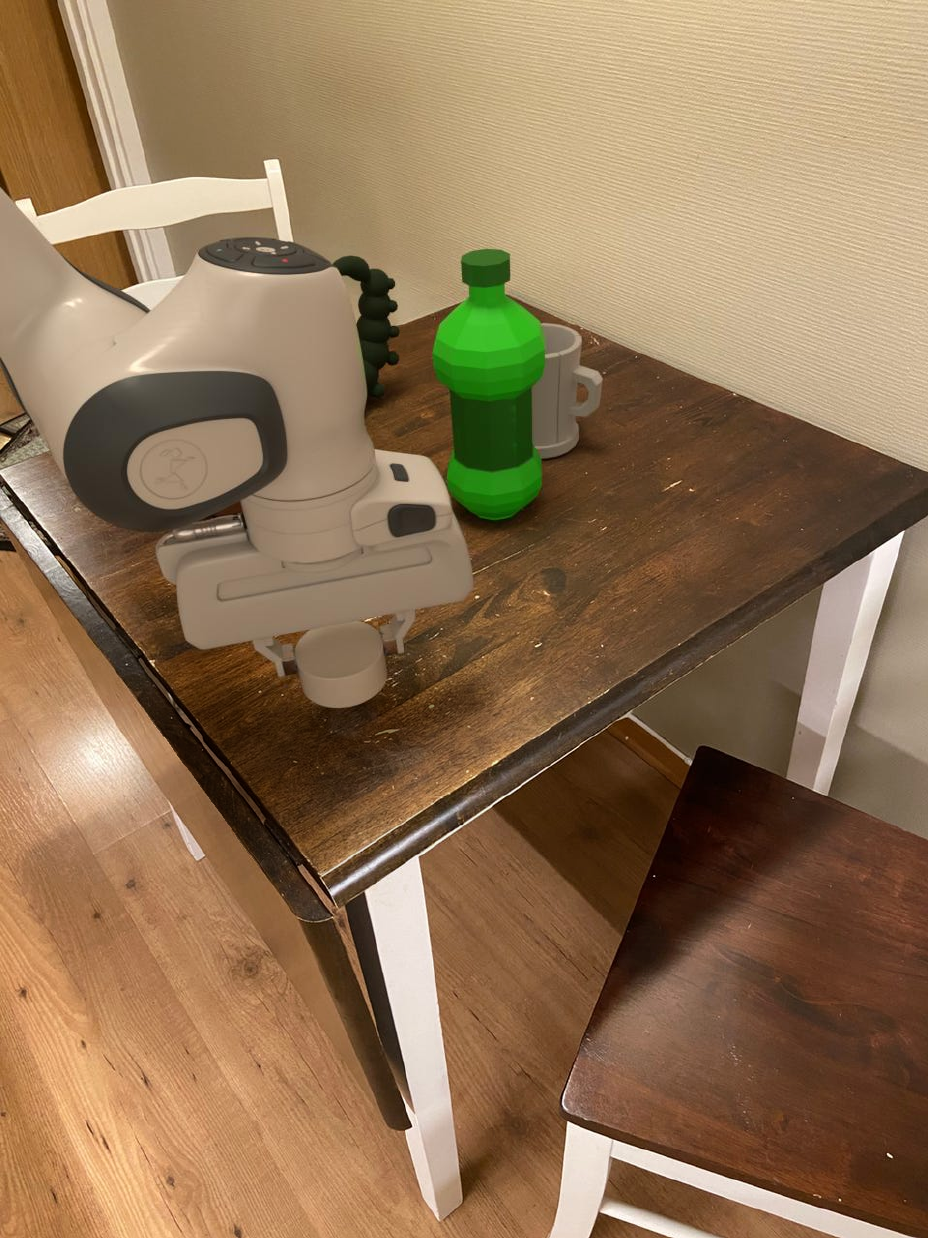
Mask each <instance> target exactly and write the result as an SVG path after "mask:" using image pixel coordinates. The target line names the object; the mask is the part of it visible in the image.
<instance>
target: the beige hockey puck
mask: <svg viewBox="0 0 928 1238" xmlns="http://www.w3.org/2000/svg"><path fill="white" fill-rule="evenodd" d="M294 653H295V660H296V666H297V669H298V674H297V675H298V679H299V680H298V681H299V684H300V689H301V690H302V693H303V694H304V695H305V696H306V698H307V699H308V700H310V701H311V702H313V704H316V705H319V706H322V707H326V708H331V709H343V708H345V709H346V708H351V707H355V706H358V705H361V704H363V703H365V702H367V701H369V700H371V699H373V698H374V697H375V696H376V695H377V694H378V693H380V691H381V690H382V689H383V688H384V686H385V684H386V681H387V678H388V665H387V658H386V657H387V656H385V652H384V645H383V640H382V637H381V633H380V631H378V630H377V629H376V627H374V626H373V625H371V624H369V623H367V622H365V621H362V620H358V621H353V622H348V623H343V624H337V625H332V626H327V627H322V628H316V629H311V630H307V631H306V632H305V633H304V634H303V635H302V636H301V637H300V638H299V640H298V641H297V643H296V645H295V647H294Z"/></svg>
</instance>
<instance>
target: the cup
mask: <svg viewBox="0 0 928 1238" xmlns="http://www.w3.org/2000/svg"><path fill="white" fill-rule="evenodd" d="M540 323H541V322H540ZM541 326H542V328H543V331H544V333H545V366H544V371H543V375H542V377H541V378H540V379H539V380H538V381H537V382H536V383H535V384H534V385H533V386H532V443H533V445H534V446H535V448H536V449H537V451H538V453H539V455H540V457H541V460H545V459H546V460H547V459H551V458H557V457H559V456H563V455H565V454H566V453H568V452H569V451H571V450H572V449H574V448H575V447H576V445H577V444H578V442H579V440H580V429H579V424H578V422H577V421H576V417H580V418H581V417H582V418H587V417H589V416H590V415H591V414H592V413H593V412H595V411H596V410H598V409H599V407H600V405H601V396H602V390H603V389H602V388H603V387H602V386H603V380H604V379H603V376H602V375H601V374H600V372H599V371H598V370H596V369H592V368H589V367H586V366H584V365H581V364H580V361H581V355H582V354H581V352H582V345H583V344H582V343H583V340H582V336H581V334H579V332H578V331H577V330H576V329H573V328H571V327H569V326H566V325H562V324H558V323H549V322H548V323H546V322H542V323H541ZM578 383H579V384H582V385H584V387H585V388H586V391H588V396H587V399H586V400H585V401H584V402H581V401H577V396H578V395H577V393H578Z"/></svg>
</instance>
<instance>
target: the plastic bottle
mask: <svg viewBox="0 0 928 1238" xmlns="http://www.w3.org/2000/svg"><path fill="white" fill-rule="evenodd" d="M460 266H461V267H460V268H461V269H460V270H461V283H463V284H465V285H467V286H468V297H467V298H465V299H464V300H463V301H462V302H461V303H459V305H458V306H456V307H455V308H454V309H453V310H452V311H451V312H450V313H449V314H448V315H447V316H446V317H445V318H444V319H442V321H441V322H440V323H439V325H438V327H437V331H436V335H435V339H434V344H433V348H432V352H431V353H432V364H433V365H432V366H433V369H434V372H435V375H436V378H437V380H438V381H439V382H440V383H441V384H442V385H444V386H445V387H446V388H447V389H448V390H449V400H450V401H449V403H450V414H451V427H452V441H453V450H452V452H451V455H450V457H449V459H448V460H449V461H448V466H447V473H446V483H447V485H446V487H447V490H448V492H449V494H450V495H451V496H452V498H453V499H455V500H456V501H457V502H458V503H459V504H461V505H462V506H463V507H464V508H466V509H467V510H468V511H469V512H470V513H471V514H474V515H476V516H477V517H479V519H487V520H491V521H499V520H504V519H509V518H512V517H513V516H514V515H516V514H517V513H518V512H520V511H521V510H522V509H523V508H525V507H526V506H528V505H529V504H530V503H532V501H534V500H535V499H536V498H537V497H538V495H539V493H540V491H541V489H542V486H543V475H542V474H543V471H542V470H543V469H542V467H543V463H542V461H543V459H541V457H540V455H539V453H538V451H537V449H536V448H535V446H534V445H533V443H532V386H533V385H534V384H535V383H536V382H537V381H538V380H539V379H540V378H541V377H542V375H543V371H544V366H545V333H544V331H543V328H542V326H541V321H540V320H539V319H538V318H537V317H536V316H534V315H533V314H532V313H531V312H529V310H527V309H526V308H525V307H524V306H522V305H521V304H519V303H518V302H517V301H515V300H514V299H512V298H511V297H509V296H508V295H506V285H505V284H506V283H508V282H510V281H511V253H510V252H507V251H505V250H503V249H496V248H483V249H475V250H471V251H468V252H466V253H464V254H462V255H461V259H460Z"/></svg>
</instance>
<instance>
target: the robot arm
mask: <svg viewBox="0 0 928 1238" xmlns="http://www.w3.org/2000/svg"><path fill="white" fill-rule="evenodd" d="M332 264H333V263H332V262H331V261H330V260H328V259H327V258H326V257H324V256H322V255H321V254H320V253H318V252H316V251H314V250H313V249H310V248H309V247H306V246H304V245H302V244H301V243H300V244H299V243H297V242H294V241H290V240H288V241H287V240H282V239H277V238H273V237H261V236H239V237H231V238H224V239H219V240H218V241H215V242H212V243H209V244H206V245H204V246H202V247H201V248H200V249H198V250H197V252H196V254H195V256H194V258H193V260H192V263H191V265H190V267H189V269H188V270H187V271H186V272H185V274H184V275H183V277H182V278H181V279H180V280H179V281H178V282H177V283H176V285H174V287H173V288H172V289H171V290H170V292H168V294H167V295H166V296H165V297H164V298H163V299H162V300H160V301H159V302H158V303H157V304H156V305H155V306H154V307H153V308H152V309H150V308H148V307H147V306H146V305H145V304H144V303H142V301H140V300H138V299H136V298H135V297H134V296H132V295H130V294H128V293H127V292H125V291H123V290H122V289H119V288H117V287H115V286H113V285H110V284H109V283H106V282H104V281H102V280H100V279H99V278H96V277H94V276H92V275H91V274H88V273H86V272H84V271H82V270H80V269H79V268H78V267H76V266H75V265H74V264H73V263H71V262H70V261H69V260H68V259H67V258H66V257H65V256H64V255H63V254H61V253H60V251H58V249H56V247H55V246H54V245H53V244H52V243H51V242H50V241H49V239H47V238H46V237H45V235H44V234H43V233H42V232H41V231H40V230H39V229H38V228H37V226H36V225H35V224H34V223H33V222H32V221H31V220H30V219H29V218H28V216H27V215H26V214H25V213H24V212H23V211H22V209H20V207H18V205H17V204H16V203H15V202H14V201H13V200H12V198H11V197H10V196H9V195H8V194H7V193H6V192H5V190H4V189H3V188H2V187H1V186H0V367H1V369H2V372H3V374H4V377H5V380H6V382H7V385H8V386H9V389H10V391H11V393H12V394H13V397H14V398H15V399H16V402H17V404H18V405H19V406H20V408H21V409H22V410H23V412H24V413H25V415H26V416H27V417H28V419H29V420H30V421H31V423H32V424H33V425H34V426H35V428H36V429H37V432H38V433H39V435H40V436H41V438H42V440H43V441H44V443H45V445H46V447H47V449H48V450H49V452H50V454H51V455H52V458H53V460H54V461H55V463H56V465H57V467H58V468H59V470H60V471H61V473H62V475H63V476H64V478H65V480H66V481H67V483H68V485H69V486H70V488H71V490H72V492H73V494H74V495H75V496H76V498H77V499H78V500H79V502H80V503H81V504H82V505H83V506H84V508H86V509H87V510H88V511H89V512H90V513H92V514H93V515H95V516H96V517H97V518H99V519H101V520H102V521H104V522H106V523H108V524H110V525H113V526H114V527H117V528H121V529H123V530H127V531H132V532H140V533H160V532H161V533H162V532H167V531H168V533H165V534H164V535H162V536H161V537H160V539H158V541H157V543H156V545H155V551H154V553H155V558H156V561H157V564H158V567H159V569H160V572H161V574H162V575H163V577H164V578H165V579H166V581H168V583H170V584H172V585H174V586H176V601H177V609H178V615H179V620H180V626H181V630H182V632H183V636H184V639H185V641H186V642H187V643H188V644H189V645H192V646H194V647H195V648H197V649H199V650H202V651H203V650H210V649H211V650H212V649H217V648H221V647H227V646H231V645H237V644H241V643H247V642H252V644H253V649H254V650H255V651H257V652H258V653H259V654H260V655H262V656H263V657H265V658H266V659H267V660H269V661H270V662H271V663H274V666H275V670H276V673H277V677H278V678H282V677H288V676H293V675H298V669H297V666H296V660H295V653H294V651H295V647H294V644H293V642H290V643H283V644H282V643H281V642H280V641H278V640H277V639H276V638H275V637H279V636H285V635H289V634H294V633H300V632H304V631H306V632H307V631H309V630H311V629H316V628H322V627H327V626H332V625H337V624H343V623H348V622H353V621H363V620H368V619H375V618H378V617H384V616H390V615H393V616H392V618H391V621H390V622H389V623H388V624H384V625H380V626H379V633H380V635H381V637H382V640H383V645H384V652H385V657H389V656H394V655H395V656H396V655H401V654H405V647H404V646H405V645H404V644H405V643H404V638H405V636H406V635H407V633H408V632H409V630H410V629H411V627H412V625H413V624H414V622H415V620H416V610H421V609H426V608H431V607H437V606H443V605H447V604H454V603H459V602H462V601H464V600H465V599H466V598H467V597H468V596H469V595H470V593H471V592H472V590H473V589H474V587H475V585H474V584H475V581H474V572H473V565H472V559H471V556H470V552H469V548H468V545H467V541H466V537H465V535H464V534H463V531H462V529H461V526H460V523H459V521H458V519H457V517H456V514H455V513H454V511H453V508H452V501H451V497H450V492H449V489H448V487H447V485H446V482H445V480H444V477H442V474H441V473H440V471H439V469H438V468H437V466H436V465H435V463H434V461H432V459H431V458H429V457H428V456H425V455H421V454H412V453H404V452H397V451H390V450H382V449H376V448H375V446H374V442H373V440H372V438H371V435H370V434H369V432H368V430H367V429H368V428H367V426H366V422H365V412H366V411H365V410H366V404H367V399H368V393H367V385H366V378H365V371H364V364H363V358H362V351H361V346H360V340H359V335H358V330H357V326H356V324H357V321H356V317H355V313H354V309H353V305H352V302H351V298H350V295H349V292H348V289H347V286H346V283H345V281H344V279H343V276H341V274H340V272H339V271H338V269H337V268H336V267H335V266H334V265H332ZM239 501H240V502H241V506H242V510H243V513H240V514H234V515H228V516H222V517H217V516H216V517H214V518H210V519H207V520H203V519H206V518H208V517H209V516H212V515H214V513H216V512H219V511H221V510H223V509H225V508H227V507H229V506H231V505H233V504H235V503H237V502H239ZM201 520H202V521H201Z"/></svg>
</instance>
